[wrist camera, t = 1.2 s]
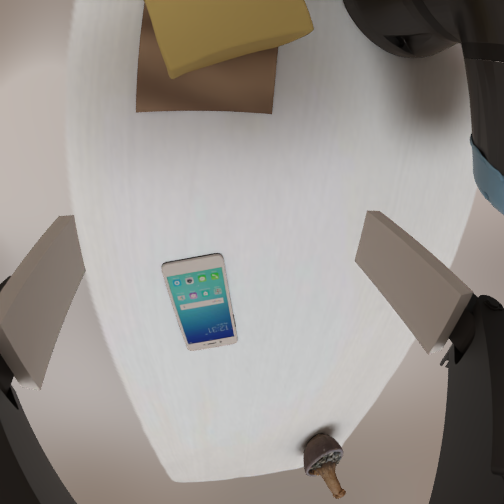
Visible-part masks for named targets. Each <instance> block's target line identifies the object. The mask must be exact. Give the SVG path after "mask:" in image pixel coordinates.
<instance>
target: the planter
mask: <svg viewBox="0 0 504 504" xmlns="http://www.w3.org/2000/svg"><path fill="white" fill-rule="evenodd" d="M342 457H343V450H342V448H341V446H340V445H339V444H338V442H337V441H336V440H335V439H334V438H332V437H331V436H329V435H324V434H317V435H316V436H315V437H313V438H312V439H311V440H310V441H309V442H308V444H307V446H306V449H305V451H304V469H305V473H306V475H308V476H317V475H321V476H322V478H323V479H324V481H325V482H326V484H327V486H328V488H329V489H330V490H331V492H332V493H333V496H334V497H335V498H336V499H339V498H341V497H343V496H344V495H345V493H346V491H344V489H342V488H341V486H340V483H339V481H338V479H337V477H336V474H335V467H336V464H338V463H339V462H340V459H341V458H342Z"/></svg>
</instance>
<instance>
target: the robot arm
mask: <svg viewBox="0 0 504 504" xmlns="http://www.w3.org/2000/svg"><path fill="white" fill-rule="evenodd" d="M344 3H345V6H346V8H347V10H348V12H349V14H350V15H351V17H352V19H353V20H354V22H355V23H356V24H357V26H358V27H359V28H360V30H361V31H362V32H363V33H364V34H365V35H366V36H367V37H368V38H369V39H370V40H371V41H372V42H374V43H375V44H376V45H378V46H379V47H381V48H382V49H384V50H385V51H387V52H389V53H392V54H394V55H397V56H401V57H407V58H418V57H428V56H432V55H434V54H436V53H438V52H440V51H442V50H444V49H447V48H449V47H451V46H453V45H455V44H457V43H461V45H462V50H463V55H464V62H465V68H466V74H467V81H468V89H469V98H470V109H471V124H472V134H471V136H470V143H471V146H472V152H473V174H474V179H475V182H476V184H477V186H478V188H479V190H480V192H481V193H482V194H483V195H484V197H485V198H486V199H487V200H488V201H489V202H490V203H491V204H492V205H493V207H495V208H496V209H497V210H498V211H499V212H501V213H502V214H503V215H504V63H502V62H504V0H344ZM467 58H469V59H467ZM478 59H482V60H478ZM488 60H491V61H488ZM495 61H499V62H495ZM355 262H356V263H357V264H358V265H359V267H360V268H361V269H362V270H363V271H364V273H365V274H366V275H367V276H368V277H369V279H370V280H371V281H372V282H373V283H374V285H375V286H376V287H377V288H378V290H379V291H380V292H381V293H382V295H383V296H384V297H385V298H386V300H387V301H388V302H389V303H390V305H391V306H392V307H393V309H394V310H395V311H396V312H397V314H398V315H399V316H400V318H401V319H402V320H403V321H404V323H405V324H406V325H407V327H408V328H409V329H410V331H411V332H412V333H413V335H414V336H415V337H416V339H417V340H418V341H419V343H420V344H421V346H422V347H423V348H424V350H425V351H426V352H427V354H428V355H429V354H432V353H434V352H438V351H440V350H442V348H443V347H444V345H445V343H446V342H447V340H448V339H450V340H451V342H452V343H453V344H452V346H451V347H450V349H449V350H448V352H447V353H446V355H445V356H444V358H443V359H442V361H441V363H440V365H441V366H442V365H443V364H444V362H445V361H446V360H449V362H448V364H447V365H446V366H445V367H447V368H449V369H448V391H447V404H446V415H445V424H444V432H443V439H442V446H441V451H440V458H439V462H438V468H437V473H436V477H435V482H434V486H433V490H432V494H431V498H430V501H429V504H504V308H503V306H502V305H501V304H500V303H499V302H498V301H497V300H495V299H494V298H492V297H490V296H487V295H480V296H479V297H477V296H476V295H475V294H474V293H473V291H472V290H471V289H470V288H468V287H467V285H465V284H464V283H463V282H462V281H461V280H460V279H459V278H458V277H457V276H456V275H455V274H454V273H453V272H452V271H450V270H449V269H448V268H447V267H446V266H445V265H444V264H443V263H442V262H441V261H440V260H438V259H437V258H436V257H435V256H434V255H433V254H432V253H430V252H429V251H428V250H427V249H426V248H425V247H423V246H422V245H421V244H420V243H419V242H418V241H416V240H415V239H414V238H413V237H412V236H410V235H409V234H408V233H407V232H405V231H404V230H403V229H402V228H401V227H399V226H398V225H397V224H396V223H394V222H393V221H392V220H390V219H389V218H388V217H387V216H385V215H384V214H383V213H381V212H380V211H367V213H366V218H365V222H364V226H363V230H362V234H361V238H360V242H359V246H358V250H357V254H356V258H355ZM85 271H86V270H85V266H84V262H83V258H82V253H81V249H80V244H79V240H78V235H77V230H76V224H75V219H74V215H70V216H59V217H58V218H57V219H56V220H55V221H54V222H53V224H52V225H51V226H50V227H49V228H48V229H47V231H46V232H45V233H44V234H43V235H42V237H41V238H40V239H39V240H38V242H37V243H36V244H35V245H34V247H33V248H32V249H31V250H30V252H29V253H28V254H27V256H26V257H25V258H24V259H23V261H22V263H21V264H20V265H19V266H18V268H17V269H16V270H15V272H14V273H13V275H12V276H9V277H8V278H7V279H6V280H4V281H3V282H2V283H1V284H0V504H77V503H76V502H75V501H74V499H73V498H72V497H71V495H70V493H69V492H68V490H67V489H66V487H65V486H64V484H63V483H62V482H61V480H60V478H59V477H58V475H57V473H56V472H55V470H54V469H53V467H52V465H51V464H50V462H49V460H48V458H47V457H46V455H45V453H44V451H43V449H42V448H41V446H40V444H39V442H38V440H37V438H36V436H35V434H34V432H33V430H32V428H31V427H30V424H29V422H28V420H27V417H26V415H25V413H24V411H23V409H22V406H21V404H20V401H19V399H18V397H17V394H16V392H15V390H14V388H13V387H12V386H11V382H12V379H13V377H15V378H16V379H17V381H18V382H19V384H20V385H21V386H22V387H23V388H29V389H35V390H41V387H42V383H43V380H44V376H45V373H46V370H47V367H48V364H49V361H50V358H51V355H52V352H53V349H54V346H55V343H56V341H57V338H58V335H59V333H60V330H61V327H62V325H63V322H64V319H65V317H66V315H67V312H68V310H69V307H70V305H71V302H72V300H73V298H74V295H75V293H76V291H77V289H78V286H79V284H80V282H81V280H82V277H83V275H84V273H85Z"/></svg>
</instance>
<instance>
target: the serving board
mask: <svg viewBox="0 0 504 504" xmlns="http://www.w3.org/2000/svg"><path fill="white" fill-rule="evenodd" d="M277 54H278V47H276V48H271V49H267V50H262V51H258V52H254V53H250V54H246V55H243V56H239V57H236V58H233V59H229V60H226V61H223V62H220V63H216V64H213V65H210V66H207V67H204V68H200V69H197V70H194V71H191V72H188V73H185V74H183V75H181V76H179V77H177V78H175V79H171V78H170V77H169V75H168V71H167V67H166V65H165V62H164V59H163V57H162V54H161V51H160V48H159V46H158V43H157V39H156V36H155V32H154V29H153V25H152V22H151V18H150V15H149V12H148V9H147V6H146V3H145V4H144V11H143V18H142V27H141V36H140V46H139V58H138V73H137V94H136V112H152V111H234V112H252V113H265V114H272V107H273V97H274V86H275V75H276V64H277Z"/></svg>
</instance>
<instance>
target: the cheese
mask: <svg viewBox="0 0 504 504" xmlns="http://www.w3.org/2000/svg"><path fill="white" fill-rule="evenodd" d="M144 2H145V3H146V6H147V9H148V12H149V15H150V18H151V22H152V25H153V29H154V32H155V36H156V39H157V43H158V46H159V48H160V51H161V54H162V57H163V59H164V62H165V65H166V67H167V71H168V75H169V77H170V78H171V79H175V78H177V77H179V76H181V75H183V74H185V73H188V72H191V71H194V70H197V69H200V68H204V67H207V66H210V65H213V64H216V63H220V62H223V61H226V60H229V59H233V58H236V57H239V56H243V55H246V54H250V53H254V52H258V51H262V50H267V49H271V48H276V47H278V46H281V45H284V44H287V43H290V42H292V41H294V40H297V39H299V38H301V37H303V36H306V35H307V34H309V33H310V32H312V31H313V30H314V27H313V24H312V20H311V17H310V14H309V11H308V9H307V6H306V3H305V1H304V0H144Z"/></svg>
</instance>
